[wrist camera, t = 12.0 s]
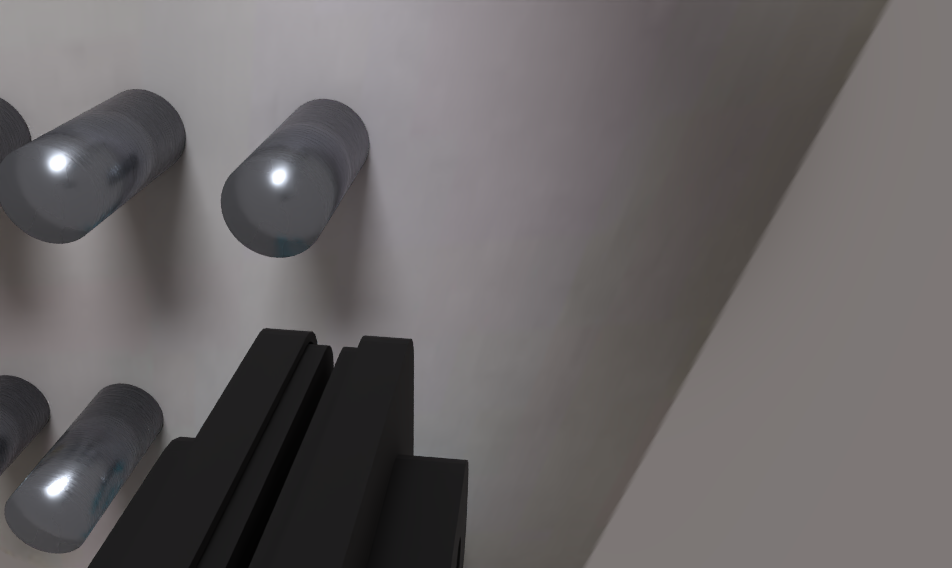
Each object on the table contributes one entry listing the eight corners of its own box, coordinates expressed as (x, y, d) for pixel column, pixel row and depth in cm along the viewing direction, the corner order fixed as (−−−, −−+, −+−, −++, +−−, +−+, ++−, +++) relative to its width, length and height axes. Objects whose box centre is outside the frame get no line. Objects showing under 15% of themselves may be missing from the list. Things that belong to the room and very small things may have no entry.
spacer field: (-107, 76, 37) (-266, 129, 30) (368, 101, 36) (321, 162, 29) (-11, 431, 45) (-117, 538, 38) (377, 460, 44) (342, 577, 37)
